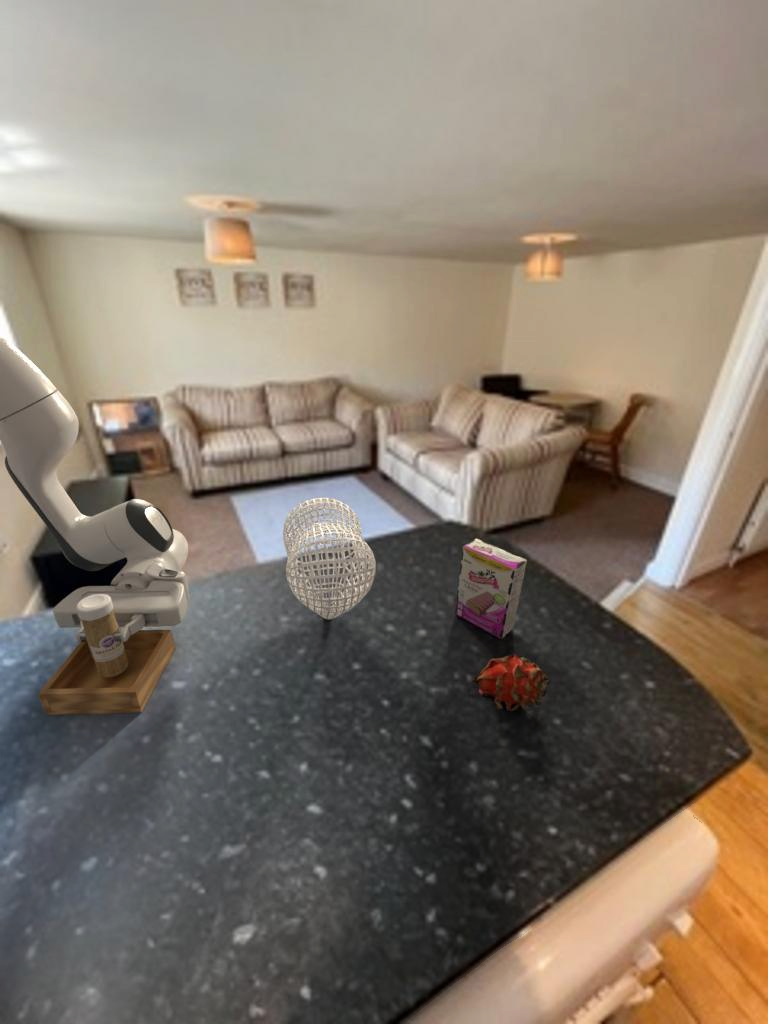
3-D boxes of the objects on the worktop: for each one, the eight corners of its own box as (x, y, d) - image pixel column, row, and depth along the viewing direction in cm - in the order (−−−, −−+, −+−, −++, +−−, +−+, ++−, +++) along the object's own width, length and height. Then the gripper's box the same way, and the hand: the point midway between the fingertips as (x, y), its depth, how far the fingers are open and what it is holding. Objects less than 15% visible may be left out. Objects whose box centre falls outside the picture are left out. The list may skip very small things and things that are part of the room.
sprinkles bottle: (108, 683, 70) (86, 614, 65) (91, 672, 72) (68, 604, 67) (135, 664, 74) (117, 598, 68) (118, 654, 76) (99, 589, 70)
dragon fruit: (549, 713, 72) (473, 714, 73) (540, 658, 76) (469, 661, 78) (559, 708, 64) (475, 709, 66) (549, 647, 69) (469, 650, 70)
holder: (45, 715, 67) (37, 694, 65) (95, 649, 80) (89, 630, 78) (141, 712, 68) (135, 692, 66) (175, 648, 81) (171, 629, 79)
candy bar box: (453, 615, 91) (461, 545, 84) (467, 605, 95) (475, 537, 88) (501, 642, 84) (514, 568, 77) (514, 630, 88) (528, 558, 81)
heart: (381, 658, 80) (385, 550, 70) (293, 671, 76) (285, 560, 67) (354, 573, 104) (354, 485, 95) (286, 580, 101) (279, 490, 91)
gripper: (76, 572, 80) (24, 623, 67) (193, 572, 81) (163, 621, 69) (85, 601, 83) (37, 655, 70) (198, 600, 84) (170, 653, 71)
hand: (100, 638), depth 69 cm, fingers closed on sprinkles bottle, 4 cm apart
